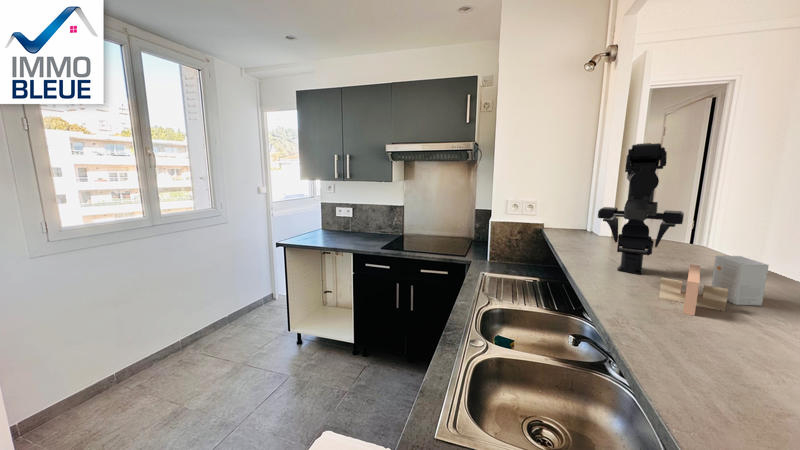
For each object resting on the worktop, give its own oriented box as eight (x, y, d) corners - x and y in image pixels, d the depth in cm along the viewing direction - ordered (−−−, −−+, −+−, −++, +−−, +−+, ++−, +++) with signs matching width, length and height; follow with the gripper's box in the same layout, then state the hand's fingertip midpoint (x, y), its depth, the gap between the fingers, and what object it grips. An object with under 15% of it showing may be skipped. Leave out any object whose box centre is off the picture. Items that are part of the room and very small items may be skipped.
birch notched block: (659, 295, 82) (662, 277, 81) (724, 308, 74) (727, 288, 73) (658, 297, 81) (661, 279, 80) (724, 311, 72) (728, 291, 71)
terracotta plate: (686, 292, 83) (690, 264, 82) (696, 294, 82) (700, 265, 81) (682, 313, 72) (687, 280, 71) (694, 315, 71) (699, 283, 69)
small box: (762, 306, 74) (770, 264, 72) (734, 305, 75) (741, 264, 73) (734, 293, 82) (740, 255, 80) (709, 292, 83) (715, 254, 81)
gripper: (595, 191, 86) (590, 245, 89) (685, 193, 73) (676, 256, 76) (604, 188, 94) (600, 238, 97) (687, 190, 81) (679, 247, 84)
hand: (635, 244), depth 88 cm, fingers open, 9 cm apart
